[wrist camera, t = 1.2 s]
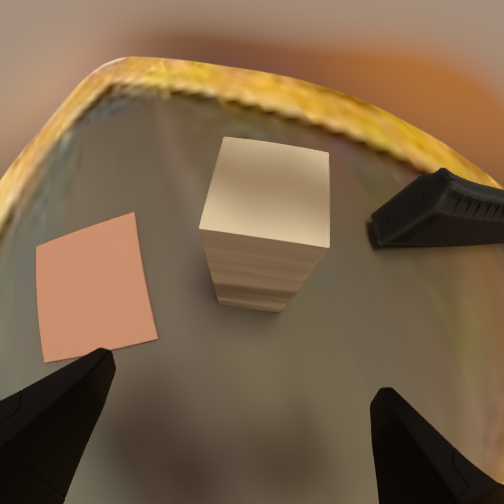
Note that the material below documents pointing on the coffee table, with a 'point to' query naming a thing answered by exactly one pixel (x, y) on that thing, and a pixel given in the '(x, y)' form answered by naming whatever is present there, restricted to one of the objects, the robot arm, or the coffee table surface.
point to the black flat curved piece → (441, 213)
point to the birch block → (265, 221)
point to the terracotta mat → (93, 291)
